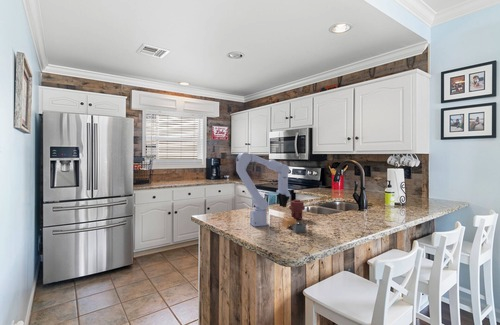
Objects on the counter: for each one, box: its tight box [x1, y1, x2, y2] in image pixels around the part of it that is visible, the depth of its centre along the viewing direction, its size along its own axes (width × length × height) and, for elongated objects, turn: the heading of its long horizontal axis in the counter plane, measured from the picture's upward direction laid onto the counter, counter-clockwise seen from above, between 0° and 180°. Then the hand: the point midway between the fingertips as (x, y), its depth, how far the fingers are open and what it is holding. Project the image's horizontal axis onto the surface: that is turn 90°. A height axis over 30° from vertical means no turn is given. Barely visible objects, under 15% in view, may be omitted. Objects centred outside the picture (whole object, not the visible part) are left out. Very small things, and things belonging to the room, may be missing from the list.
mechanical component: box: [288, 199, 306, 221], centre depth 173 cm, size 12×10×10 cm
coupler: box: [289, 221, 307, 234], centre depth 147 cm, size 6×10×5 cm, turn 19°
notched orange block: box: [281, 217, 297, 229], centre depth 155 cm, size 6×6×4 cm
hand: (282, 206), depth 163 cm, fingers open, 3 cm apart
